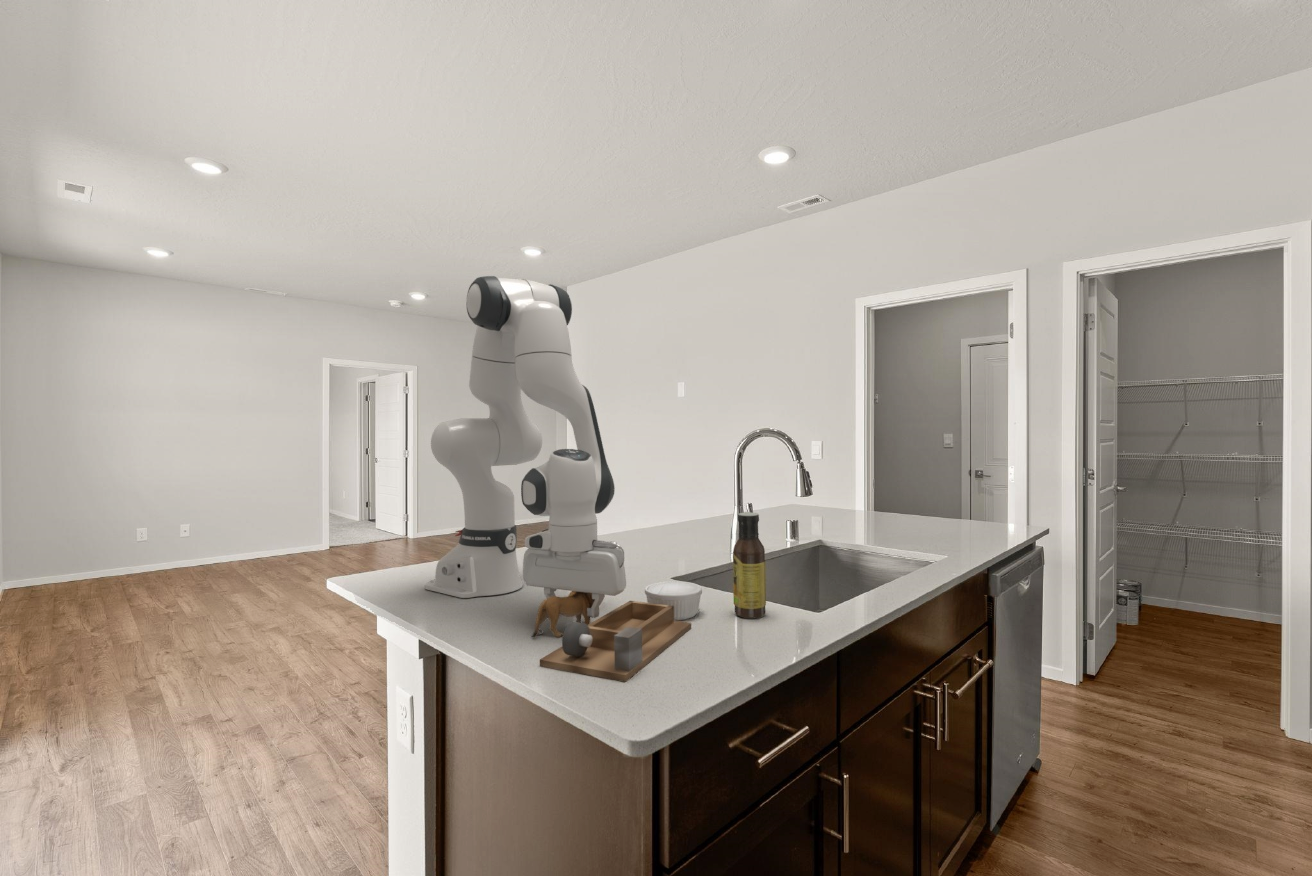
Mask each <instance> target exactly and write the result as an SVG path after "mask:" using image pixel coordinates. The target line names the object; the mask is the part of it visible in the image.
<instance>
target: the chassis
mask: <svg viewBox="0 0 1312 876" xmlns="http://www.w3.org/2000/svg"><path fill="white" fill-rule="evenodd" d="M588 627H589V630H590V635H591V636H592V644H591V646H590V647H588V648H587V650H586V652H585V653H584V655H582V656H580V657H578V656H572V655H567V654H565V653H564V651H563V648H562V646H560V647H559V648H557V649H555V650H553V651H552V652H550V653H548V654H547V655H545V656H543V657H541V658H539V667H544V668H548V669H553V670H559V671H565V672H571V673H575V674H576V673H577V674H580V675H581V674H582V675H587V676H592V677H598V678H603V679H608V680H613V681H614V680H615V681H619V682H624V683H626V682H627V681H629V680H630V679H632V678H633V676H635V675H636V674H637V673H638V672H640V671H641V670H642V669H643V668H645V667H646V666H647V665H648V664H649V663H651V662H652V661H653V660H654V659H656V658H657V657H658V656H659V655H660V654H662V653H663V652H665V650H667V649H668V648H669V647H670V646H672V645H673V644H674V643H675V642H676V641H678V640H679V639H680V638H682V636H683V635H685V634H686V633H687V632H689V631H690V630H691V629H692V622H688V621H683V620H674V606H670V605H662V604H654V603H648V602H645V601H635V600H629V601H627V602H625V603H623V604H622V605H620V606H619V607H616V608H615V609H613V610H611V611H609V612H608V613H606V614H604V615H603V616H601V617H598V618H596V620H593V621H592V622H590V623H589V624H588Z"/></svg>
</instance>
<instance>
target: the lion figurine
mask: <svg viewBox="0 0 1312 876" xmlns="http://www.w3.org/2000/svg"><path fill="white" fill-rule="evenodd" d="M594 601H595V599H592V593H585V592H576V593H575V594H574V595H572V596H553V597H549V598H545V600H543V601H542V603H541V604H540V606H539V607H538V610H537V616H536V621H535V627H534V631H533V633H532V635H530V638H535V637H536V636H537V635H538V636H540V635H542V634H543V630H542V629H540V627H541V626H542V624H544V623H545V622H546V621H547V620H548V619H549V622H550V626H549V630H550V631H551V632H552V634H553V635H554V637H556V638H562V637H563V633H562V632H559V631H558V630H557V624H558V621H559V619H560V616H563V617H566V618H567V617H568V618H569V617H572V618H573V617H575V622H578V623H582V616H583V623H585V624H587V625H588V624H590V623H591V617H588V616H587V614H588V612H587V608H588V607H590V606H592V605H593V603H594Z"/></svg>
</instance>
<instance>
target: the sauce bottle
mask: <svg viewBox="0 0 1312 876" xmlns="http://www.w3.org/2000/svg"><path fill="white" fill-rule="evenodd" d="M759 516H760V515H759V513H757V512H750V511H749V512H739V513H738V514H737V521H738V539H737V540H736V543H735V544H734V546H733V550H732V583H733V584H732V585H733V587H732V589H733V594H732V595H733V605H734V613H735V615H737V616H738V617H740V618H744V619H760V618H762V617H764V616H766V615H765V614H766V604H767V597H766V596H767V593H766V592H767V589H766V588H767V587H766V581H767V580H766V557H765V554H766V553H765V551H766V550H765V547H764V545H763V543H762V541H761V539H760V538H759V534H760V533H759V522H760V517H759Z"/></svg>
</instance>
